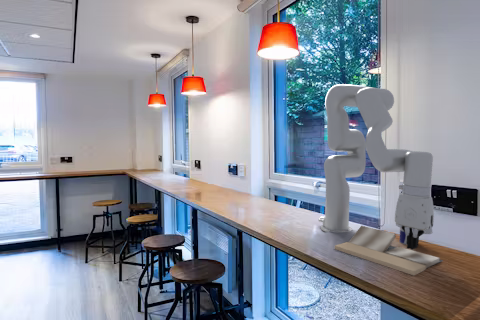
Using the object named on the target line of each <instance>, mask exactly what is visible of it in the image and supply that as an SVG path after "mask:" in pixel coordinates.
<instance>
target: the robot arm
mask: <svg viewBox="0 0 480 320" xmlns="http://www.w3.org/2000/svg"><path fill="white" fill-rule="evenodd" d="M394 103H395V98H394V95H393V93H392V91H390V90H389V89H386V88H378V87H371V86H365V85H355V84H346V83H345V84H344V83H342V84H340V83H339V84H335V85H333V86H332V87H331V88H330V89H329V90H328V91H327V93H326V96H325V102H324V104H325V112H326V117H327V118H326V120H327V122H326V123H327V125H326V126H327V127H326V129H327V133H326V134H327V146H328V148H329V150H330V151H332V152H335V153H336V152H337V153H338V152H339V153H347V154H335V155H330V156H328V157H327V158H326V159H325V161H324V163H323V170H324V171H323V172H324V176H325V204H324V205H325V207H324V209H325V210H324V211H325V212H324V216H320V217H319V219H318V222H319V223H322V225H321V226H320V229H321V231H323V232H324V233H327V232H332V233H349V232H352V231H353V227H351V226H349V221H350V195H351V193H350V192H351V191H350V186H349V183H348V181H347V179H348V178H359V177H361V176H362V175H364V172H365V171H366V162H367V161H366V156H367V155H368V158H369V160H370V163H372V165H373V167H374V168H375V169H376V170H377V171H379V172H380V173H403V182H402V184H400V185H399V186H398V189H399V190H401V192H402V193H399V194H398V198H397V202H396V207H395V212H394V222H395V226H396V227H398V228H399V229H400V228H402V229H403V230H404V232H405V234H406V235H407V241H406V244H407V245H406V244H405V245H406V249H409V250H413V251H414V250H416V249H417V248H418V247H419V240H420V237H421V236H422V235H431V234H433V226H434V220H435V219H434V218H435V216H434V215H435V213H434V212H435V211H434V209H435V208H434V201H433V197H432V196H431V187H432V175H433V174H432V172H433V161H434V156H433V154H432V153H431V152H428V151H413V150H410V149H401V148H400V149H397V148H396V149H395V148H389V149H388V148H387V146H386V144H385V142H384V141H383V140H384V139H383V137H382V135H383V132H385V131H387V130H388V129H389V128H390V127H391V126H392V125H393V121H394V120H393V118H392V116H391V115H390V113H389V111H390V110H391V109H392V108H393V106H394ZM345 107H352V108H353V107H354V108H357V109H358V111H359V113H360V115H361V117H362V120H363V122H364V125H365V126H366V128H367V133H366V136H365V135H364V133H363V132H362V131H361V130H359V129H356V128H355V129H354V128H353V129H352V128H350V123H349V122H350V119H349V115H348V113H347V111H346V109H345ZM366 154H367V155H366ZM413 228H414V233H413Z"/></svg>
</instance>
